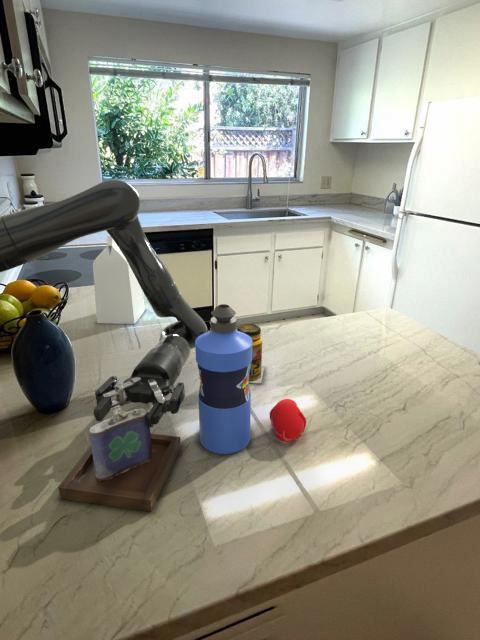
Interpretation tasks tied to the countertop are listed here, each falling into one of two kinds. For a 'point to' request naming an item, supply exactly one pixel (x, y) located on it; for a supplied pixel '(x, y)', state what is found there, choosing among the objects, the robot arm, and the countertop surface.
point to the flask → (120, 443)
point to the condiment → (254, 351)
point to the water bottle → (224, 384)
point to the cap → (287, 420)
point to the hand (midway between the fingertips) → (123, 419)
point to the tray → (123, 479)
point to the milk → (116, 287)
